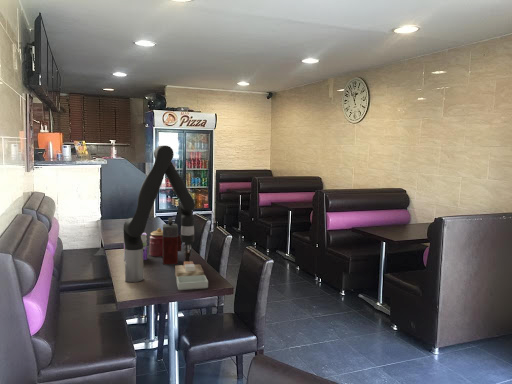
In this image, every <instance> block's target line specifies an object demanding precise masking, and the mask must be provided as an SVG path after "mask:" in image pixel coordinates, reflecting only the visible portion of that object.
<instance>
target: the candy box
mask: <svg viewBox="0 0 512 384" xmlns="http://www.w3.org/2000/svg"><path fill="white" fill-rule="evenodd" d="M141 239H142V242H143V261H146V260H148V234H147V233H146V232H143V234H142V235H141ZM123 259H124V262H125V243H124V242H123Z"/></svg>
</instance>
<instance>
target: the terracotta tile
mask: <svg viewBox="0 0 512 384" xmlns="http://www.w3.org/2000/svg"><path fill="white" fill-rule="evenodd" d="M185 264H194V261H193V260H192V261H191V260H189V261H186V262H185V261H183V265H184V268H185ZM194 265H195V264H194Z"/></svg>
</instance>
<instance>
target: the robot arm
mask: <svg viewBox="0 0 512 384" xmlns="http://www.w3.org/2000/svg"><path fill="white" fill-rule="evenodd" d="M174 153H175V152H174V149H173V148H172V147H171V146H170V145H159V146H156V147H155V149H154V151H153V157H154V159H155V161H154V163H153V165H152V168H151V169H150V171H149V172H148V174H147V175H146V176H145V179H144V180H143V182H142V183H141V187H140V189H139V192H138V196H137V206H136V210H135V212H134V215H133V217H130V218H128V219H126V220H125V222H124V223H123V244H124V243H125V261H124V262H125V264H124V267H125V268H124V278H125V279H124V282H129V283H137V282H141V281H143V280H144V260H143V242H142V239H141V235H142V234H143V233H145V231H146V226H147V223H148V220H149V217H150V213H151V211H152V209H153V206H154V203H155V202H156V199H157V197H158V194H159V192H160V188H161V186H162V183H163V180H164V177H165V176H166V178H167V179H168V181H169V184H170V186H171V188H172V189H173V192H174V194H175V196H176V197H177V198H178V199H179V201H180V204H179V208H180V210H179V211H180V215H181V219H180V220H181V221H180V224H181V226H180V237H181V243H184V244H183V252H184V262H186V261H190V258H191V252H192V250H191V249H192V245H191V243H193V242H195V224H194V223H195V220H194V219H195V218H194V216H193V211H195V208H196V203H195V201H194V198H193V197H192V196H191V194H190V192H189V190H188V188H187V185H186V184H185V182H184V180H183V178H182V177H181V175H180V174H179V173H178V170H176V168H175V166H174V164H173V162H172V160H173V158H174Z"/></svg>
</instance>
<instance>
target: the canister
mask: <svg viewBox="0 0 512 384" xmlns="http://www.w3.org/2000/svg"><path fill="white" fill-rule="evenodd" d="M148 251H149V256H152V257H163V229H162V228H161V227H158V228H157V230H153V231H152V232H150V235H149V250H148Z"/></svg>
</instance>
